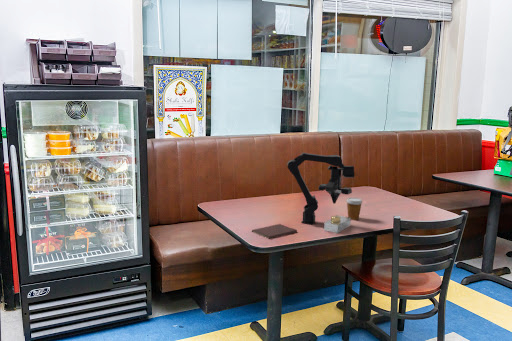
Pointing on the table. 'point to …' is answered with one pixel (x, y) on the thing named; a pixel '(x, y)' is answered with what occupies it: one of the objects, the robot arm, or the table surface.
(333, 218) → the brass pin
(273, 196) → the table surface
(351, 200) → the disposable coffee cup
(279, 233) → the notebook
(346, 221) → the grey white block
